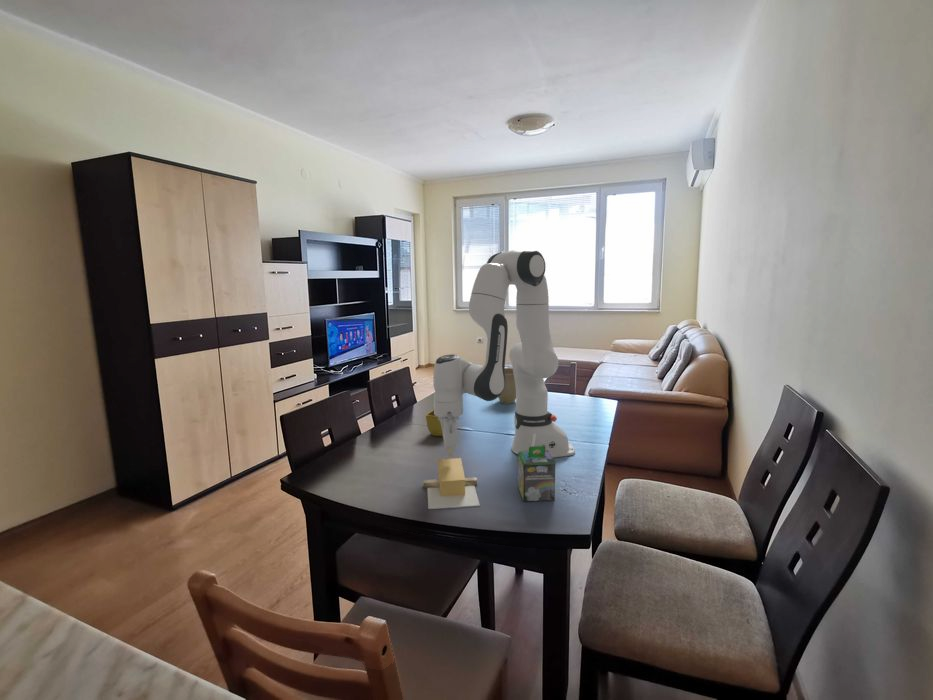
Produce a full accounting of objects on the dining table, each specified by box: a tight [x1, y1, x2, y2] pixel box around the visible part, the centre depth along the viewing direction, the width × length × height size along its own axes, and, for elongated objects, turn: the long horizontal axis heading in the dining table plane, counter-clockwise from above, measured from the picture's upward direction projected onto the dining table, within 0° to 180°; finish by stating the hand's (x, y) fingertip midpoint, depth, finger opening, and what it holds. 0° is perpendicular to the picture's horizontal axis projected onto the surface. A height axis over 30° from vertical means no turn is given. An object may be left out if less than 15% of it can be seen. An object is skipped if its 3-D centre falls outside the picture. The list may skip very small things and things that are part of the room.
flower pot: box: [425, 408, 443, 437], centre depth 178 cm, size 9×9×9 cm
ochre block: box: [437, 457, 466, 496], centre depth 131 cm, size 7×5×11 cm
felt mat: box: [426, 485, 481, 510], centre depth 126 cm, size 14×12×1 cm
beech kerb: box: [423, 476, 478, 489], centre depth 134 cm, size 16×2×2 cm, turn 96°
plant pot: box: [497, 367, 516, 405], centre depth 224 cm, size 15×15×16 cm
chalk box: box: [517, 446, 556, 502], centre depth 127 cm, size 9×9×15 cm
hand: (448, 451), depth 138 cm, fingers open, 8 cm apart
